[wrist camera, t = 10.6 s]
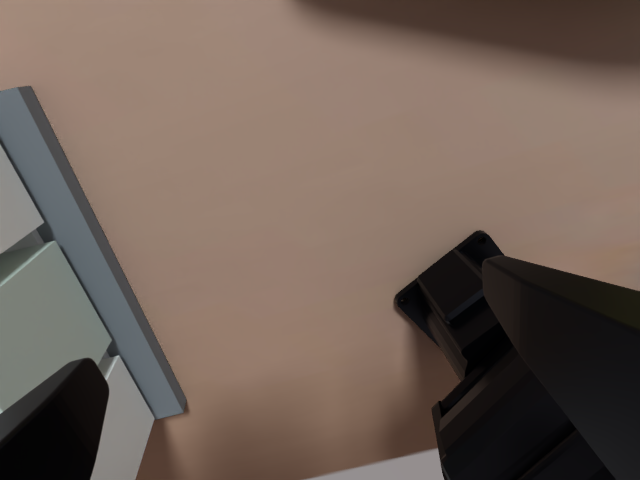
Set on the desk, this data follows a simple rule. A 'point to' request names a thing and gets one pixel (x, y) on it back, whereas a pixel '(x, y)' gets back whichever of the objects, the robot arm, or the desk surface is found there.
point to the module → (42, 320)
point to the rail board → (84, 279)
